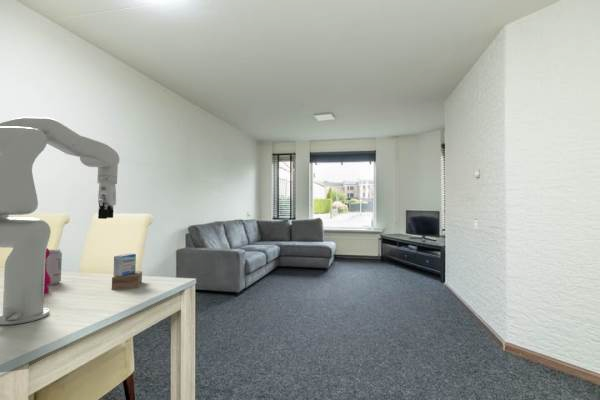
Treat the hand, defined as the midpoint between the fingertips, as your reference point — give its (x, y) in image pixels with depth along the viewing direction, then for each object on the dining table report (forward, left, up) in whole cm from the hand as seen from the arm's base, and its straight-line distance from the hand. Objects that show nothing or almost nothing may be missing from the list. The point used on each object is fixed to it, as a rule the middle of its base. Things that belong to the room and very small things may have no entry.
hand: (105, 218), depth 135 cm
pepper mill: (-7, +21, -30) cm, 37 cm away
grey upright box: (+8, +22, -30) cm, 38 cm away
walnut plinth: (-4, -10, -30) cm, 32 cm away
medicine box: (-5, -9, -25) cm, 27 cm away
